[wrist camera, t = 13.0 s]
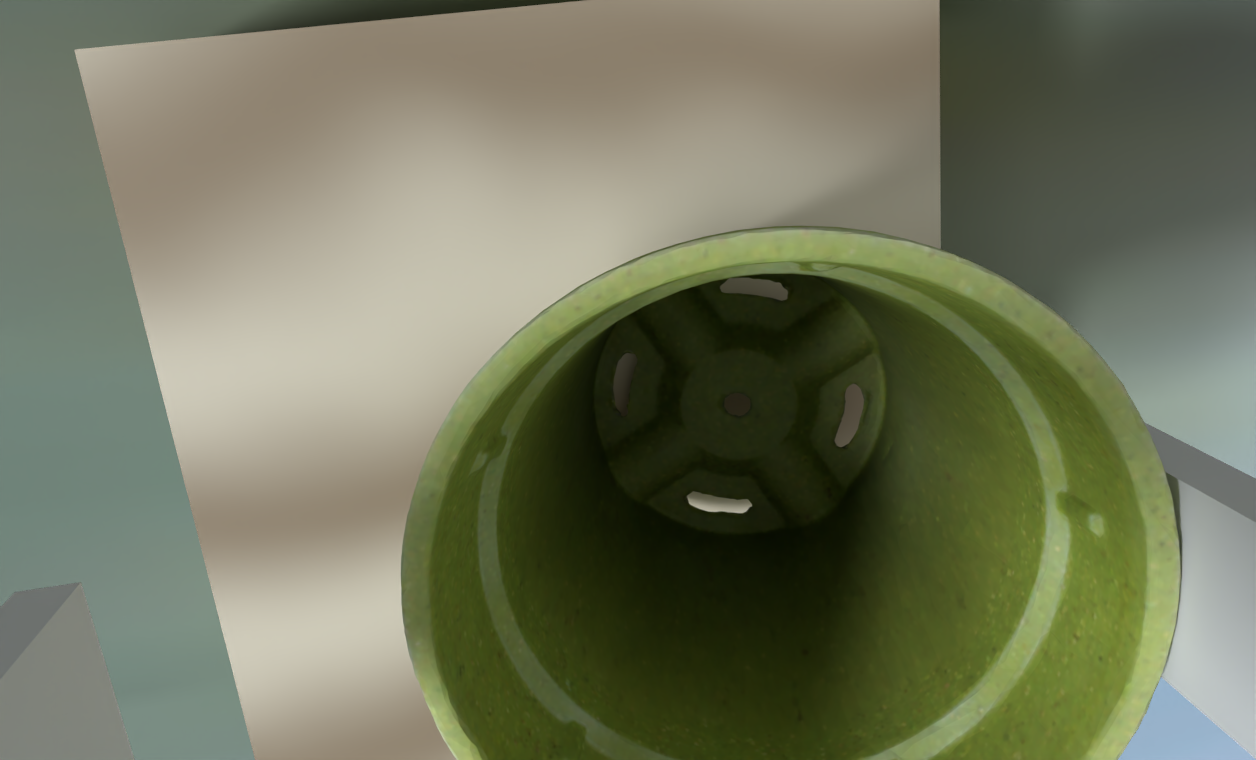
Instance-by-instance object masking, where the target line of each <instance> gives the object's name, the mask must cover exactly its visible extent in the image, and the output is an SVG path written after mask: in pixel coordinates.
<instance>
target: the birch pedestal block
mask: <svg viewBox="0 0 1256 760" xmlns="http://www.w3.org/2000/svg"><path fill="white" fill-rule="evenodd" d="M75 54H76V58H77V62H78V66H79V70H80V74H81V78H82V82H83V85H84V89H85V93H86V97H87V101H88V105H89V109H90V113H91V117H92V121H93V125H94V129H95V133H96V137H97V140H98V144H99V148H100V152H101V156H102V160H103V164H104V168H105V172H106V176H107V180H108V184H109V188H110V191H111V195H112V199H113V203H114V207H115V211H116V215H117V219H118V223H119V227H120V231H121V235H122V239H123V243H124V246H125V250H126V254H127V258H128V262H129V266H130V270H131V274H132V278H133V282H134V286H135V290H136V294H137V297H138V301H139V305H140V309H141V313H142V317H143V321H144V325H145V329H146V333H147V337H148V341H149V345H150V349H151V352H152V356H153V360H154V364H155V368H156V372H157V376H158V380H159V384H160V388H161V392H162V396H163V400H164V403H165V407H166V411H167V415H168V419H169V423H170V427H171V431H172V435H173V439H174V443H175V447H176V451H177V455H178V458H179V462H180V466H181V470H182V474H183V478H184V482H185V486H186V490H187V494H188V498H189V502H190V506H191V510H192V513H193V517H194V521H195V525H196V529H197V533H198V537H199V541H200V545H201V549H202V553H203V557H204V561H205V564H206V568H207V572H208V576H209V580H210V584H211V588H212V592H213V596H214V600H215V604H216V608H217V612H218V616H219V619H220V623H221V627H222V631H223V635H224V639H225V643H226V647H227V651H228V655H229V659H230V663H231V667H232V670H233V674H234V678H235V682H236V686H237V690H238V694H239V698H240V702H241V706H242V710H243V714H244V718H245V722H246V725H247V729H248V733H249V737H250V741H251V745H252V749H253V753H254V757H255V760H457V759H456V758H455V757H454V755H453V754H452V752H451V751H450V749H449V747H448V746H447V744H446V743H445V741H444V739H443V738H442V736H441V734H440V732H439V730H438V728H437V726H436V723H435V721H434V718H433V716H432V714H431V712H430V710H429V707H428V705H427V703H426V701H425V698H424V696H423V693H422V690H421V687H420V684H419V682H418V680H417V678H416V676H415V673H414V668H413V664H412V662H411V659H410V656H409V652H408V647H407V641H406V636H405V632H404V624H403V616H402V605H401V555H402V544H403V537H404V531H405V525H406V519H407V515H408V512H409V509H410V504H411V500H412V497H413V494H414V490H415V487H416V484H417V481H418V477H419V474H420V471H421V469H422V466H423V463H424V461H425V458H426V456H427V453H428V451H429V449H430V447H431V445H432V442H433V440H434V438H435V436H436V435H437V433H438V431H439V429H440V427H441V426H442V424H443V422H444V420H445V418H446V417H447V415H448V413H449V412H450V410H451V408H452V407H453V405H454V403H455V402H456V400H457V399H458V397H459V396H460V394H461V393H462V391H463V390H464V389H465V387H466V386H467V384H468V383H469V382H470V381H471V379H472V378H473V377H474V376H475V375H476V374H477V372H478V371H479V370H480V369H481V368H482V367H483V366H484V365H485V363H486V362H487V361H488V360H489V359H490V358H491V357H492V356H493V355H494V354H495V353H496V352H497V351H498V350H499V349H500V348H501V347H502V346H503V345H504V344H505V343H506V342H507V341H508V340H509V339H510V338H511V337H512V336H513V335H514V334H515V333H516V332H518V331H519V330H520V329H521V328H522V327H524V326H525V325H526V324H527V323H528V322H530V321H531V320H532V319H533V318H534V317H536V316H537V315H538V314H539V313H540V312H542V311H543V310H544V309H546V308H547V307H549V306H550V305H552V304H553V303H555V302H556V301H558V300H559V299H561V298H562V297H564V296H565V295H567V294H568V293H569V292H571V291H572V290H574V289H575V288H577V287H578V286H580V285H582V284H584V283H586V282H587V281H589V280H591V279H593V278H595V277H597V276H599V275H601V274H602V273H604V272H606V271H608V270H611V269H613V268H615V267H617V266H619V265H622V264H624V263H626V262H628V261H630V260H632V259H635V258H637V257H640V256H642V255H645V254H647V253H650V252H653V251H656V250H659V249H662V248H666V247H669V246H672V245H675V244H678V243H682V242H686V241H690V240H693V239H697V238H701V237H705V236H710V235H715V234H720V233H725V232H731V231H736V230H744V229H754V228H764V227H774V226H825V227H842V228H850V229H858V230H866V231H874V232H878V233H883V234H887V235H892V236H896V237H900V238H905V239H908V240H912V241H915V242H919V243H922V244H926V245H929V246H932V247H936V248H938V249H941V181H940V9H939V0H584V1H574V2H564V3H553V4H543V5H533V6H522V7H512V8H502V9H491V10H481V11H470V12H460V13H450V14H439V15H429V16H419V17H408V18H398V19H387V20H377V21H367V22H356V23H346V24H336V25H325V26H315V27H304V28H294V29H284V30H273V31H263V32H253V33H242V34H232V35H221V36H211V37H201V38H190V39H180V40H170V41H159V42H149V43H138V44H128V45H118V46H107V47H97V48H87V49H76V50H75ZM720 289H721V291H722V292H724V293H742V294H752V295H758V296H764V297H770V298H774V299H778V300H781V301H783V300H786V299H787V295H788V291H787V290H786V289H785V288H783V286H782V285H781V283H779V282H777V283H776V282H773V281H770V280H761V279H751V278H729V279H728V280H727V281H726V282H725V283H724V284H722V285H721V286H720ZM636 364H637V357H636V355H635V354H630V353H626V354H624V355H623V356H622V358H621V359H620V360H619V361H618V364H617V368H616V373H615V376H614V386H613V391H614V397H615V405H616V407H617V409H618V410H619V411H620V413H621V416H626V415H627V413H628V409H627V404H628V403H629V392H630V385H631V380H632V377H633V373H634V369H635V366H636ZM845 400H846V403H845V410H844V415H843V417H842V421H841V423H840V426H839V429H838V432H837V435H836V438H835V440H834V441H835V443H836V445H837V446H839V447H843V446H845V445H847V444H849V442H850V441H851V439H852V438H853V436H854V435H855V433H856V431H857V429H858V425H859V421H860V417H861V414H862V410H863V404H864V398H863V395H862V392H861V389H860V388H859V387H858V386H857V385H856V384H852V385H850V386H849V387H848V388H847V389H846V393H845ZM724 406H725V408H726V410H727V411H728V413H730V414H732V415H738V416H741V415H744V414H745V413H747V412H748V410H749V409H750V399H749V398H748V397H746V396H745V395H743V394H740V393H734V394H731V395H729V396H728V397H727V398H725V404H724ZM687 498H688V501H689V504H690V505H692V506H694V507H696V508H699V509H702V510H705V511H708V512H719V511H725V512H734V513H744V512H746V511H747V510H748V509H749V507H752V504H751V503H750V501H749V500H748V499H742V500H736V499H728V498H721V497H715V496H712V495H707V494H702V493H700V492H694V491H693V492H692V493H690V494H689V495H688V496H687Z"/></svg>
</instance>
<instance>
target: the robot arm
mask: <svg viewBox="0 0 1256 760" xmlns="http://www.w3.org/2000/svg"><path fill="white" fill-rule="evenodd" d="M1145 425H1146V427H1147V429H1148V431H1149V432H1150V434H1151V437H1152V439H1153V442H1154V444H1155V446H1156V449H1157V451H1158V454H1159V456H1160V459H1161V461H1162V464H1163V467H1164V470H1165V472H1166V476H1167V481H1168V484H1169V487H1170V490H1171V493H1172V499H1173V505H1174V511H1175V517H1176V526H1177V531H1178V537H1179V550H1180V566H1181V582H1180V592H1179V602H1178V610H1177V618H1176V624H1175V629H1174V633H1173V637H1172V641H1171V645H1170V648H1169V652H1168V656H1167V660H1166V664H1165V666H1164V669H1163V672H1162V674H1161V677H1162V678H1163V679H1164V680H1165V681H1167V682H1168V683H1169V684H1170V685H1171V686H1172V687H1173V688H1175V689H1176V690H1177V691H1178V692H1179V693H1180V694H1181V695H1183V696H1184V697H1185V698H1186V699H1187V700H1188V701H1190V702H1191V703H1192V704H1193V705H1194V706H1195V707H1196V708H1198V709H1199V710H1200V711H1201V712H1202V713H1203V714H1204V715H1206V716H1207V717H1208V718H1209V719H1210V720H1211V721H1213V722H1214V723H1215V724H1216V725H1217V726H1218V727H1219V728H1221V729H1222V730H1223V731H1224V732H1225V733H1226V734H1227V735H1229V736H1230V737H1231V738H1232V739H1233V740H1234V741H1236V742H1237V743H1238V744H1239V745H1240V746H1241V747H1242V748H1244V749H1245V750H1246V751H1247V752H1248V753H1249V754H1250V755H1252V756H1253V757H1254V758H1255V759H1256V479H1255V478H1253V477H1251V476H1249V475H1247V474H1245V473H1243V472H1241V471H1239V470H1238V469H1236V468H1234V467H1232V466H1230V465H1228V464H1226V463H1224V462H1222V461H1220V460H1218V459H1216V458H1214V457H1212V456H1210V455H1208V454H1206V453H1204V452H1202V451H1200V450H1198V449H1196V448H1194V447H1192V446H1190V445H1188V444H1186V443H1184V442H1182V441H1180V440H1178V439H1176V438H1174V437H1172V436H1170V435H1168V434H1166V433H1164V432H1162V431H1160V430H1158V429H1156V428H1154V427H1152V426H1150V425H1148V424H1146V423H1145ZM0 760H134V756H133V753H132V750H131V746H130V743H129V740H128V737H127V733H126V730H125V727H124V723H123V720H122V717H121V713H120V710H119V707H118V703H117V700H116V697H115V693H114V690H113V687H112V684H111V680H110V677H109V674H108V670H107V667H106V664H105V660H104V657H103V654H102V650H101V647H100V644H99V640H98V637H97V634H96V631H95V627H94V624H93V621H92V617H91V614H90V611H89V607H88V604H87V601H86V597H85V594H84V591H83V588H82V584H81V582H79V583H73V584H66V585H60V586H53V587H46V588H40V589H33V590H26V591H20V592H15V593H14V594H13V595H12V596H11V597H10V598H9V599H8V600H7V601H6V602H5V603H4V604H3V605H2V606H1V607H0Z"/></svg>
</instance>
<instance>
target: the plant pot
mask: <svg viewBox="0 0 1256 760" xmlns="http://www.w3.org/2000/svg"><path fill="white" fill-rule="evenodd" d="M729 278H751V279H761V280H770V281H773V282H776V283H777V282H779V283H781V285H782V286H783V288H785V289H786V290H787V291H788V295H787V299H786V300H783V301H781V300H778V299H774V298H770V297H764V296H758V295H752V294H742V293H724V292H722V291H721V289H720V286H721V285H722V284H724V283H725V282H726V281H727V280H728V279H729ZM626 353H630V354H635V355H636V357H637V364H636V366H635V369H634V373H633V377H632V380H631V385H630V392H629V403H628V404H627V409H628V413H627V415H626V416H621V413H620V411H619V410H618V409H617V407H616V405H615V397H614V391H613V386H614V376H615V373H616V368H617V364H618V361H619V360H620V359H621V358H622V356H623V355H624V354H626ZM852 384H856V385H857V386H858V387H859V388H860V389H861V392H862V395H863V398H864V404H863V410H862V414H861V417H860V421H859V425H858V429H857V431H856V433H855V435H854V436H853V438H852V439H851V441H850V442H849V444H847V445H845V446H843V447H839V446H837V445H836V443H835V441H834V440H835V438H836V435H837V432H838V429H839V426H840V423H841V421H842V417H843V415H844V410H845V403H846V400H845V393H846V389H847V388H848V387H849V386H850V385H852ZM734 393H740V394H743V395H745V396H746V397H748V398H749V399H750V409H749V410H748V412H747V413H745V414H744V415H741V416H738V415H732V414H730V413H728V411H727V410H726V408H725V406H724V404H725V398H727V397H728V396H729V395H731V394H734ZM693 491H694V492H700V493H702V494H707V495H712V496H715V497H721V498H728V499H736V500H742V499H748V500H749V501H750V503H751V504H752V507H749V509H748V510H747V511H746V512H744V513H734V512H725V511H719V512H708V511H705V510H702V509H699V508H696V507H694V506H692V505H690V504H689V501H688V498H687V496H688V495H689V494H690V493H692V492H693ZM1180 582H1181V566H1180V550H1179V537H1178V531H1177V526H1176V517H1175V511H1174V505H1173V499H1172V493H1171V490H1170V487H1169V484H1168V481H1167V476H1166V472H1165V470H1164V467H1163V464H1162V461H1161V459H1160V456H1159V454H1158V451H1157V449H1156V446H1155V444H1154V442H1153V439H1152V437H1151V434H1150V432H1149V431H1148V429H1147V427H1146V425H1145V423H1144V421H1143V419H1142V417H1141V416H1140V414H1139V412H1138V410H1137V408H1136V406H1135V405H1134V403H1133V401H1132V400H1131V398H1130V396H1129V395H1128V393H1127V391H1126V389H1125V387H1124V385H1123V384H1122V382H1121V381H1120V380H1119V379H1118V377H1117V376H1116V375H1115V374H1114V372H1113V371H1112V370H1111V369H1110V367H1109V366H1108V364H1107V363H1106V362H1105V361H1104V360H1103V358H1102V357H1101V356H1100V355H1099V354H1098V353H1097V352H1096V350H1095V349H1094V348H1093V347H1092V346H1091V345H1090V344H1089V343H1088V342H1087V341H1086V340H1085V339H1084V338H1083V337H1082V336H1081V335H1080V334H1079V333H1078V332H1077V331H1076V330H1075V329H1074V328H1073V327H1072V326H1071V325H1070V324H1069V323H1068V322H1067V321H1065V320H1064V319H1063V318H1062V317H1061V316H1060V315H1058V314H1057V313H1056V312H1055V311H1054V310H1052V309H1051V308H1050V307H1048V306H1047V305H1045V304H1044V303H1042V302H1041V301H1039V300H1038V299H1036V298H1035V297H1033V296H1032V295H1031V294H1029V293H1028V292H1026V291H1025V290H1023V289H1022V288H1020V287H1019V286H1017V285H1016V284H1014V283H1012V282H1011V281H1009V280H1007V279H1006V278H1004V277H1002V276H1000V275H998V274H996V273H994V272H992V271H990V270H988V269H986V268H984V267H982V266H980V265H978V264H976V263H974V262H971V261H969V260H967V259H965V258H962V257H960V256H957V255H955V254H952V253H950V252H947V251H944V250H941V249H938V248H936V247H932V246H929V245H926V244H922V243H919V242H915V241H912V240H908V239H905V238H900V237H896V236H892V235H887V234H883V233H878V232H874V231H866V230H858V229H850V228H842V227H825V226H774V227H764V228H754V229H744V230H736V231H731V232H725V233H720V234H715V235H710V236H705V237H701V238H697V239H693V240H690V241H686V242H682V243H678V244H675V245H672V246H669V247H666V248H662V249H659V250H656V251H653V252H650V253H647V254H645V255H642V256H640V257H637V258H635V259H632V260H630V261H628V262H626V263H624V264H622V265H619V266H617V267H615V268H613V269H611V270H608V271H606V272H604V273H602V274H601V275H599V276H597V277H595V278H593V279H591V280H589V281H587V282H586V283H584V284H582V285H580V286H578V287H577V288H575V289H574V290H572V291H571V292H569V293H568V294H567V295H565V296H564V297H562V298H561V299H559V300H558V301H556V302H555V303H553V304H552V305H550V306H549V307H547V308H546V309H544V310H543V311H542V312H540V313H539V314H538V315H537V316H536V317H534V318H533V319H532V320H531V321H530V322H528V323H527V324H526V325H525V326H524V327H522V328H521V329H520V330H519V331H518V332H516V333H515V334H514V335H513V336H512V337H511V338H510V339H509V340H508V341H507V342H506V343H505V344H504V345H503V346H502V347H501V348H500V349H499V350H498V351H497V352H496V353H495V354H494V355H493V356H492V357H491V358H490V359H489V360H488V361H487V362H486V363H485V365H484V366H483V367H482V368H481V369H480V370H479V371H478V372H477V374H476V375H475V376H474V377H473V378H472V379H471V381H470V382H469V383H468V384H467V386H466V387H465V389H464V390H463V391H462V393H461V394H460V396H459V397H458V399H457V400H456V402H455V403H454V405H453V407H452V408H451V410H450V412H449V413H448V415H447V417H446V418H445V420H444V422H443V424H442V426H441V427H440V429H439V431H438V433H437V435H436V436H435V438H434V440H433V442H432V445H431V447H430V449H429V451H428V453H427V456H426V458H425V461H424V463H423V466H422V469H421V471H420V474H419V477H418V481H417V484H416V487H415V490H414V494H413V497H412V500H411V504H410V509H409V512H408V515H407V519H406V525H405V531H404V537H403V544H402V555H401V605H402V616H403V624H404V632H405V636H406V641H407V647H408V652H409V656H410V659H411V662H412V664H413V668H414V673H415V676H416V678H417V680H418V682H419V684H420V687H421V690H422V693H423V696H424V698H425V701H426V703H427V705H428V707H429V710H430V712H431V714H432V716H433V718H434V721H435V723H436V726H437V728H438V730H439V732H440V734H441V736H442V738H443V739H444V741H445V743H446V744H447V746H448V747H449V749H450V751H451V752H452V754H453V755H454V757H455V758H456V759H457V760H1118V758H1119V757H1120V756H1121V754H1122V753H1123V751H1124V750H1125V748H1126V746H1127V745H1128V743H1129V741H1130V740H1131V738H1132V737H1133V735H1134V734H1135V733H1136V731H1137V730H1138V728H1139V726H1140V724H1141V721H1142V719H1143V717H1144V716H1145V714H1146V712H1147V709H1148V707H1149V704H1150V701H1151V699H1152V696H1153V693H1154V691H1155V689H1156V687H1157V685H1158V683H1159V680H1160V677H1161V674H1162V672H1163V669H1164V666H1165V664H1166V660H1167V656H1168V652H1169V648H1170V645H1171V641H1172V637H1173V633H1174V629H1175V624H1176V618H1177V610H1178V602H1179V592H1180Z"/></svg>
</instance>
